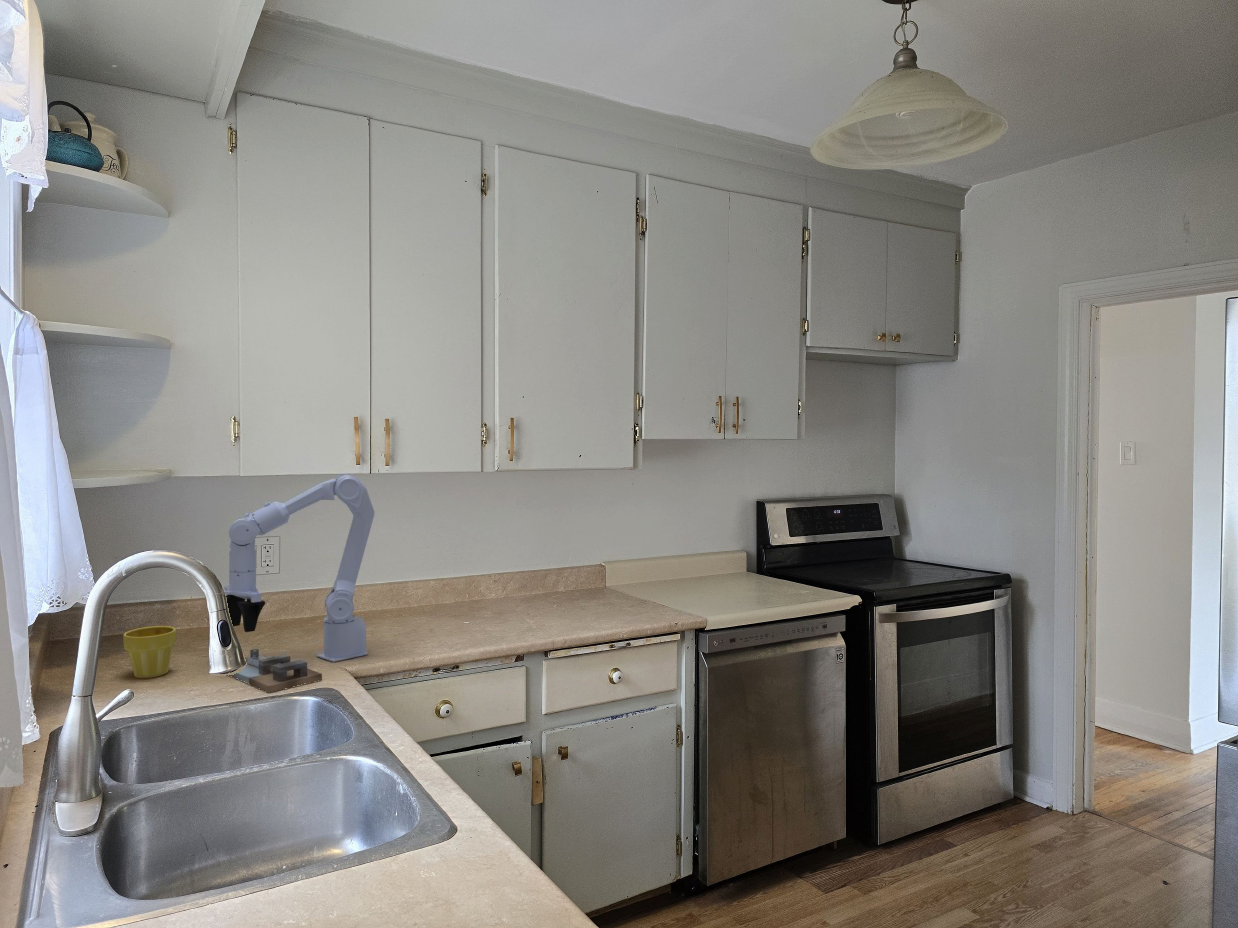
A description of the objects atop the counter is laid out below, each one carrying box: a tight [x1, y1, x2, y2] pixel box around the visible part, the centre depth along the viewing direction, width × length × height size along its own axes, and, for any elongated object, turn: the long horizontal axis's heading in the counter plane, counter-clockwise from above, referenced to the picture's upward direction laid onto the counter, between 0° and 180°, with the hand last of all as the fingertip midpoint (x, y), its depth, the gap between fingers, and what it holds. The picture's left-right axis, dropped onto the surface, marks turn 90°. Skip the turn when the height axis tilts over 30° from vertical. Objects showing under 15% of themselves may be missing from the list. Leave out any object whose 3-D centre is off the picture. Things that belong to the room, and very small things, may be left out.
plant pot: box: [122, 625, 177, 679], centre depth 186 cm, size 10×10×10 cm
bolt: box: [246, 648, 281, 673], centre depth 187 cm, size 2×11×3 cm, turn 49°
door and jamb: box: [229, 654, 323, 694], centre depth 185 cm, size 12×22×4 cm, turn 49°
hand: (242, 628), depth 194 cm, fingers open, 7 cm apart
